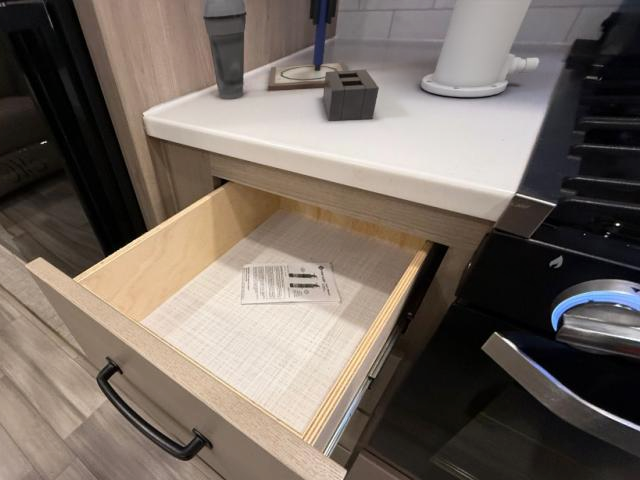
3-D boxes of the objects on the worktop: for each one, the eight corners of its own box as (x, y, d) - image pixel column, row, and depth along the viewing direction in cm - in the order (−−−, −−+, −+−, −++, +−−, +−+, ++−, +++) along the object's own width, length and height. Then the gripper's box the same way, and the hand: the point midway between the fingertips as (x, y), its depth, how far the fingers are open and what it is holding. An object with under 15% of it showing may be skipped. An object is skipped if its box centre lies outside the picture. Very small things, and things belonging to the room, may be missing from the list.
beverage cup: (246, 100, 58) (237, -65, 44) (208, 101, 60) (187, -59, 45) (253, 89, 63) (247, -63, 49) (217, 90, 65) (202, -57, 50)
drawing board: (343, 66, 71) (344, 61, 70) (353, 85, 60) (354, 79, 59) (271, 71, 73) (271, 66, 72) (268, 90, 62) (268, 84, 61)
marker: (321, 68, 67) (330, -18, 58) (322, 71, 66) (331, -18, 57) (312, 69, 68) (318, -17, 58) (312, 71, 66) (319, -17, 57)
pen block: (360, 97, 55) (365, 69, 52) (372, 119, 48) (379, 87, 45) (322, 99, 56) (325, 71, 53) (328, 120, 48) (331, 90, 45)
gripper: (281, -135, 47) (279, 29, 60) (396, -151, 45) (367, 23, 58) (282, -126, 52) (280, 24, 65) (385, -140, 50) (361, 17, 63)
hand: (321, 22), depth 61 cm, fingers closed on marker, 2 cm apart
